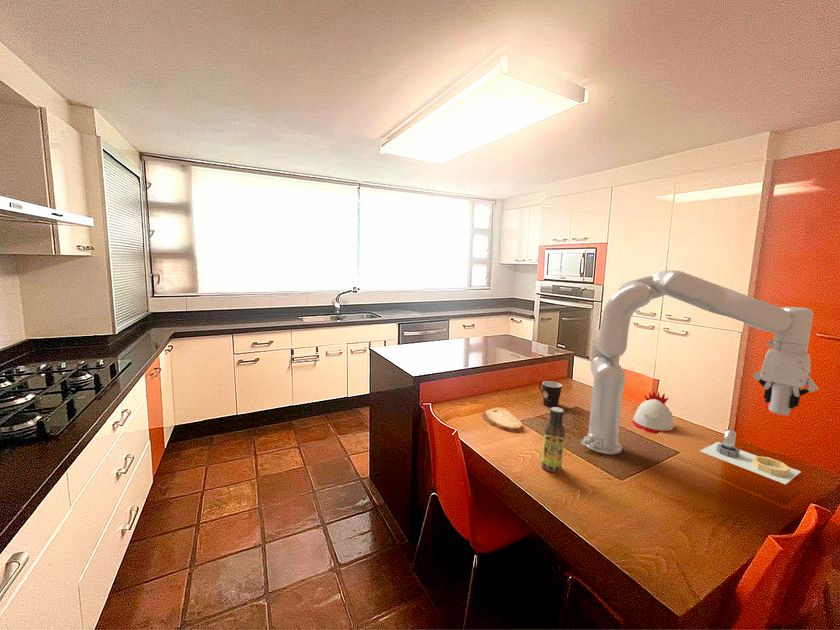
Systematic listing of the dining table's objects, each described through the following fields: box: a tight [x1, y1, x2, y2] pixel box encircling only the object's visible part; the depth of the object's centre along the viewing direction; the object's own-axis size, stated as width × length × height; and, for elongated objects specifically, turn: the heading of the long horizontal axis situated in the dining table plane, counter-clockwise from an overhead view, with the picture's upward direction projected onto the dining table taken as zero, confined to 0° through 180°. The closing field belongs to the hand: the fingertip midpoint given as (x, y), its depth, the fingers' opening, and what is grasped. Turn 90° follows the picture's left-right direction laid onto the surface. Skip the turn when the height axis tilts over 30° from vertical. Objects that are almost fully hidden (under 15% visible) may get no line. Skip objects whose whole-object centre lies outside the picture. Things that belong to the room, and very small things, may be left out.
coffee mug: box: [538, 380, 563, 408], centre depth 170 cm, size 12×9×10 cm
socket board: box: [699, 441, 802, 485], centre depth 120 cm, size 14×22×3 cm, turn 30°
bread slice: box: [482, 406, 525, 434], centre depth 150 cm, size 18×18×4 cm
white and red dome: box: [632, 390, 674, 434], centre depth 147 cm, size 14×14×15 cm
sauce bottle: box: [541, 407, 566, 473], centre depth 114 cm, size 6×6×20 cm
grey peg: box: [722, 429, 737, 451], centre depth 124 cm, size 3×3×8 cm
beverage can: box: [768, 383, 794, 416], centre depth 112 cm, size 5×5×12 cm
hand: (780, 404), depth 112 cm, fingers closed on beverage can, 4 cm apart
